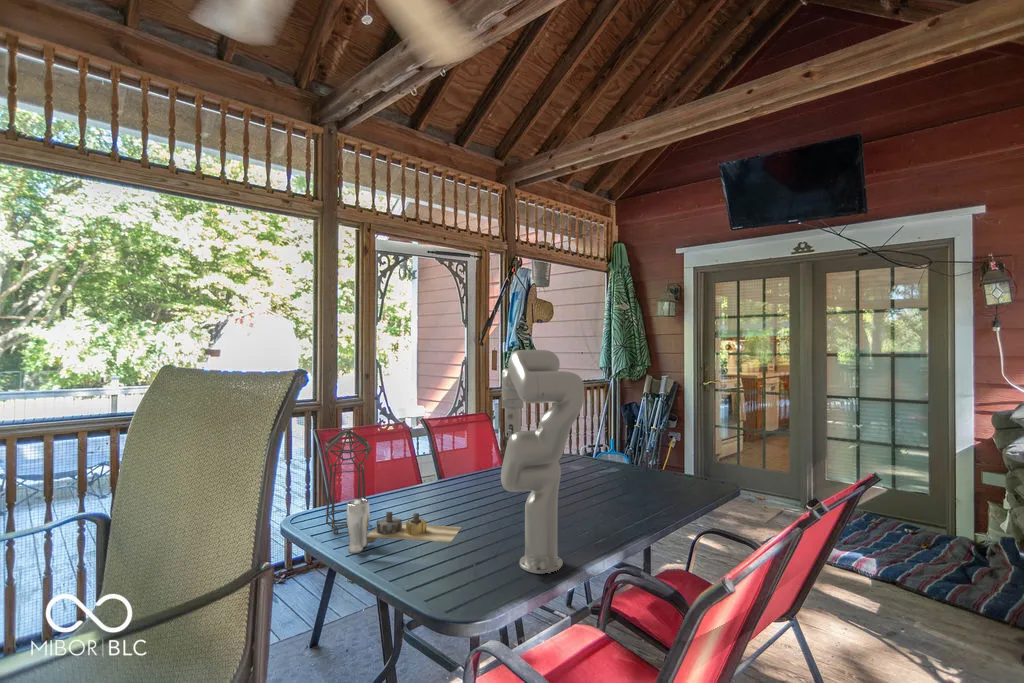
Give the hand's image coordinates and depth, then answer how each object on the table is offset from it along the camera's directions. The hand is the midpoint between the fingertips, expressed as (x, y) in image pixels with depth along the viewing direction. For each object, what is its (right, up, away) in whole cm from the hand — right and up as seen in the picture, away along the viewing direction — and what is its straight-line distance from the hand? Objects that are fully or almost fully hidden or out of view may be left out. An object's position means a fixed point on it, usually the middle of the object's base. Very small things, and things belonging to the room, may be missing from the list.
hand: (512, 452), depth 180 cm
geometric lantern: (-58, -27, 0) cm, 64 cm away
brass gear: (-33, -25, -6) cm, 42 cm away
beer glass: (-49, -27, -18) cm, 58 cm away
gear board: (-33, -27, -6) cm, 43 cm away
